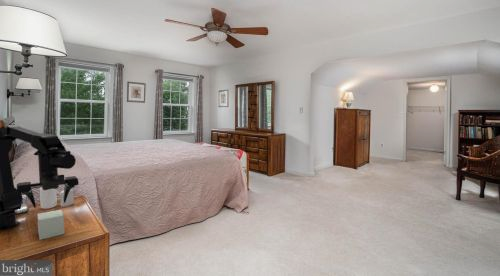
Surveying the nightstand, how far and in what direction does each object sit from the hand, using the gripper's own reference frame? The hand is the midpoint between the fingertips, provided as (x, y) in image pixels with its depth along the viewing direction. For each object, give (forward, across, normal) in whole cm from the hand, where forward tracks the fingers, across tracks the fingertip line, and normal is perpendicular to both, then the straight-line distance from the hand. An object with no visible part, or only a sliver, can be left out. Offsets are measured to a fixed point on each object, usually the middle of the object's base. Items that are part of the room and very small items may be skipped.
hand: (50, 205), depth 99 cm
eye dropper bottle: (+12, +9, +33) cm, 36 cm away
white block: (+12, 0, +1) cm, 12 cm away
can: (+12, +2, +35) cm, 37 cm away
